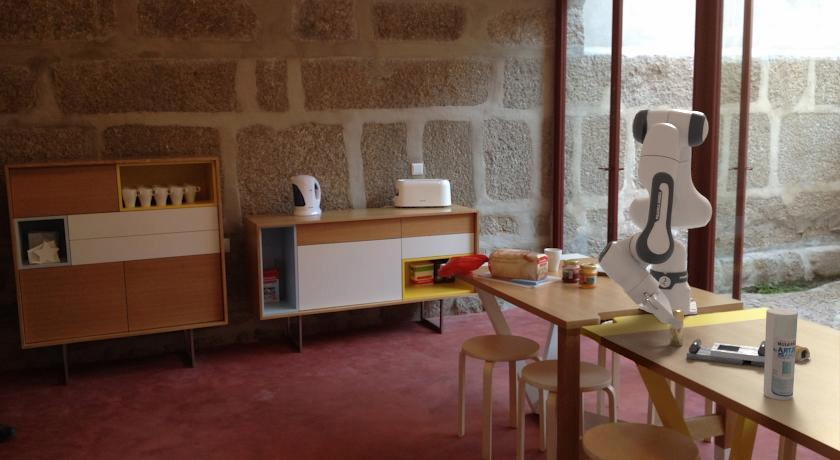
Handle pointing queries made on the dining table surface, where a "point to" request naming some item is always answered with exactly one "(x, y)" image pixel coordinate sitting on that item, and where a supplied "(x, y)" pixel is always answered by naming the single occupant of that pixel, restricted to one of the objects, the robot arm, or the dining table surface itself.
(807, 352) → the pastry
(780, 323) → the spray can
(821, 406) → the dining table surface
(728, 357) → the grey roller block
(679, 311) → the gold rounded cylinder
